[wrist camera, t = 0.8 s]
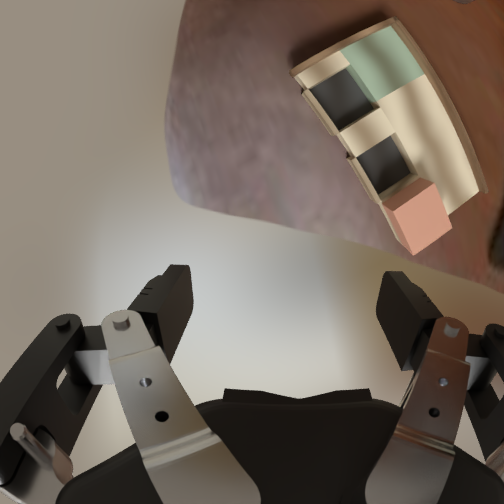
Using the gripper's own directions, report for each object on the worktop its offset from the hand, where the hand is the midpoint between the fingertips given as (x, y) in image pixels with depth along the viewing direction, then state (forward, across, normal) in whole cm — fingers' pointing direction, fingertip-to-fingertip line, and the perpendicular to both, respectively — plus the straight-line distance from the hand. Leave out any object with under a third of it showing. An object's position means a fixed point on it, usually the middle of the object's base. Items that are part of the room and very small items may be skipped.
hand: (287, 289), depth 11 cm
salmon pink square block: (+21, -16, +1) cm, 26 cm away
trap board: (+23, -14, -8) cm, 28 cm away
